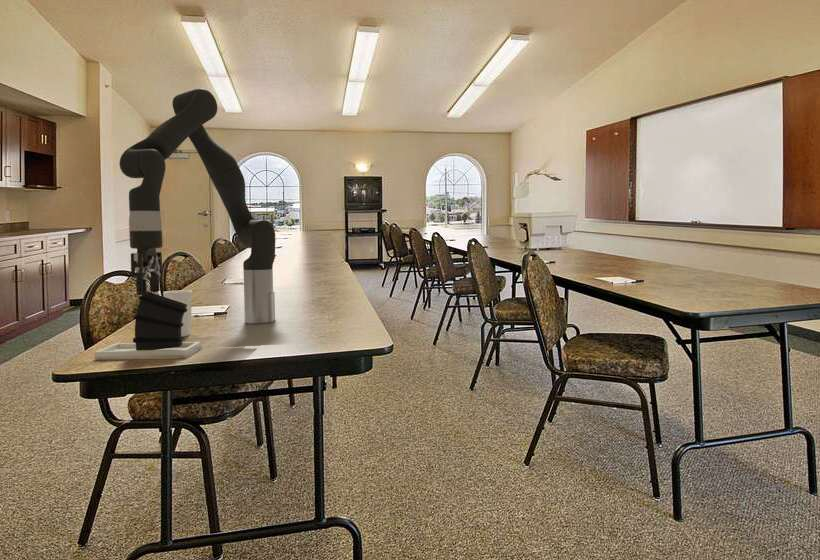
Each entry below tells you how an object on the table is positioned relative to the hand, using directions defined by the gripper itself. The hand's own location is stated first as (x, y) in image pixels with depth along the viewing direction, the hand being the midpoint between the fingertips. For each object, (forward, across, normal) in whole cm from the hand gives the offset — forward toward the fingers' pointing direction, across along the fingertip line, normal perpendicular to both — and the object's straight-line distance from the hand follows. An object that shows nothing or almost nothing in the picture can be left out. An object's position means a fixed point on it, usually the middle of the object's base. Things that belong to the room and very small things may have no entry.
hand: (148, 293), depth 146 cm
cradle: (+16, 0, 0) cm, 16 cm away
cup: (+16, +22, 0) cm, 28 cm away
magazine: (+16, 0, +1) cm, 16 cm away
